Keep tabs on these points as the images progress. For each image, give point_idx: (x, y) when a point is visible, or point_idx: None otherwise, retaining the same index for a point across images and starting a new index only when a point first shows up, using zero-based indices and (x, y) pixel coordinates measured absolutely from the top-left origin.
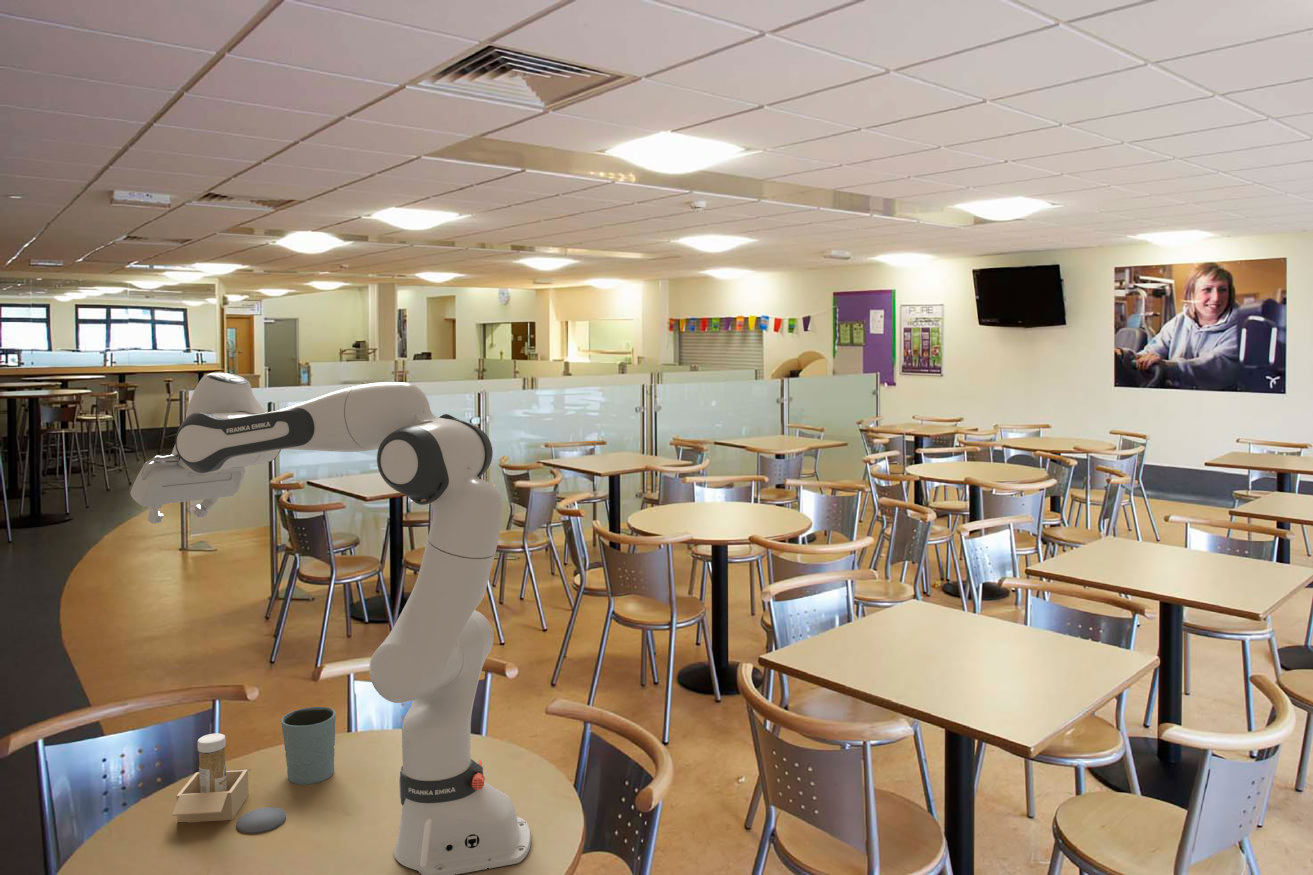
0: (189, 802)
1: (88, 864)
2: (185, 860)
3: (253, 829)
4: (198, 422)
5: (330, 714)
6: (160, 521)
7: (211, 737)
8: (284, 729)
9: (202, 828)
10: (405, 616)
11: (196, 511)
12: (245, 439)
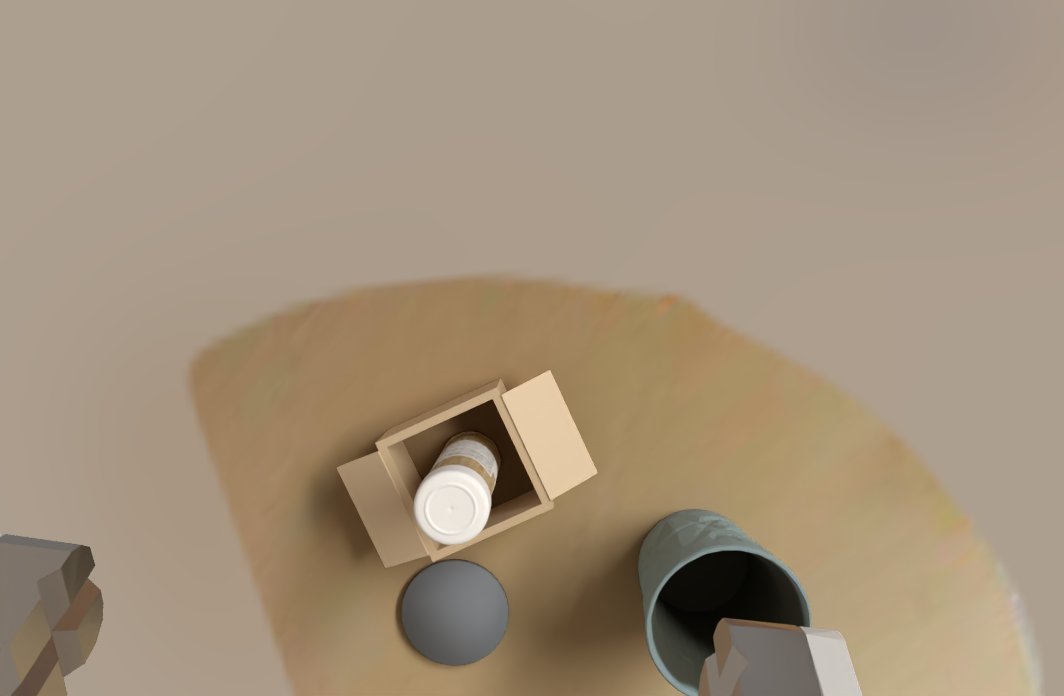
0: (373, 485)
1: (190, 385)
2: (270, 570)
3: (407, 630)
4: None
5: None
6: (84, 646)
7: (453, 506)
8: (653, 586)
9: None
10: None
11: (728, 676)
12: None
